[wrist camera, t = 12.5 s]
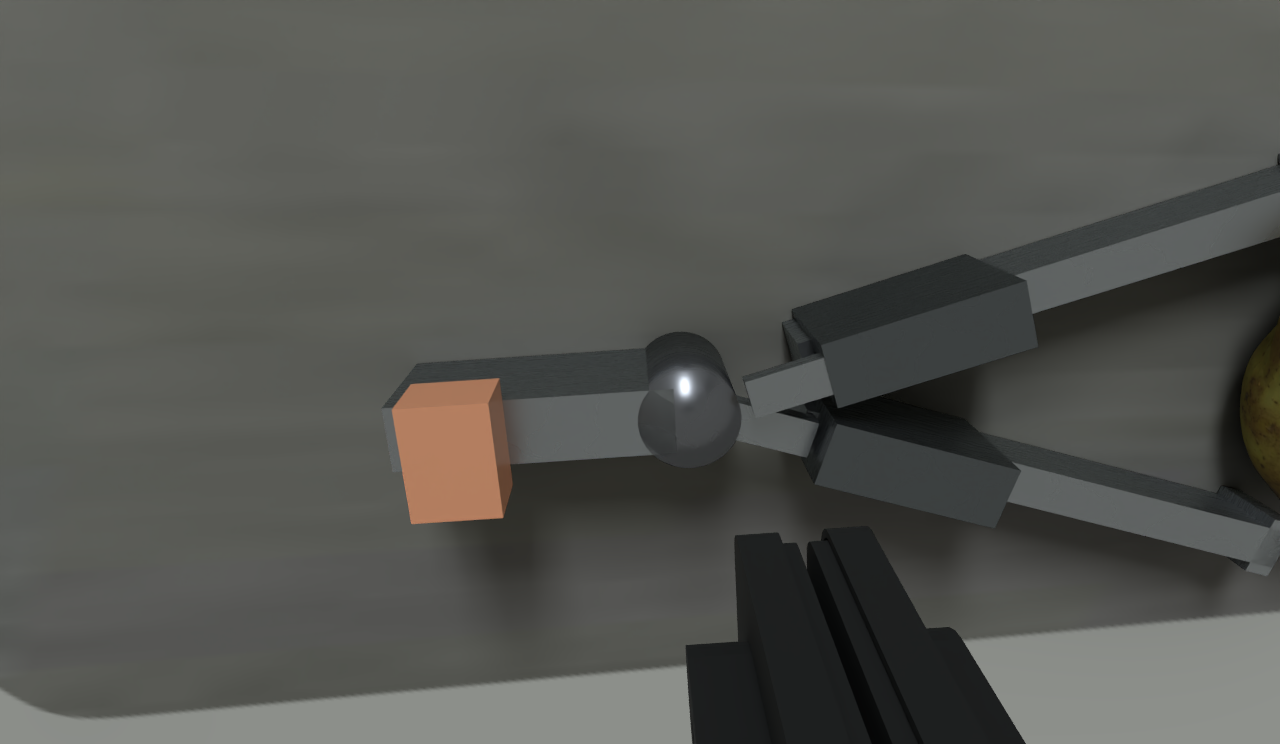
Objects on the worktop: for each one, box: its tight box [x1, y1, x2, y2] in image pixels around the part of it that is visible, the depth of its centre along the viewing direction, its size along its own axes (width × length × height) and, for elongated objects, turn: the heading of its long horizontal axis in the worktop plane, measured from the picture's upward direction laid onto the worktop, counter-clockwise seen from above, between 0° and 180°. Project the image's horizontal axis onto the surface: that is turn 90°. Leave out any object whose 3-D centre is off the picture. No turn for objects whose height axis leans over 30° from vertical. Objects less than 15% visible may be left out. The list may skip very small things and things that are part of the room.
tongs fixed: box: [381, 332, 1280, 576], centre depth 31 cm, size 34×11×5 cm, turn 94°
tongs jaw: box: [743, 154, 1280, 418], centre depth 29 cm, size 23×2×5 cm, turn 108°
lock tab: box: [392, 378, 513, 524], centre depth 27 cm, size 3×4×2 cm
